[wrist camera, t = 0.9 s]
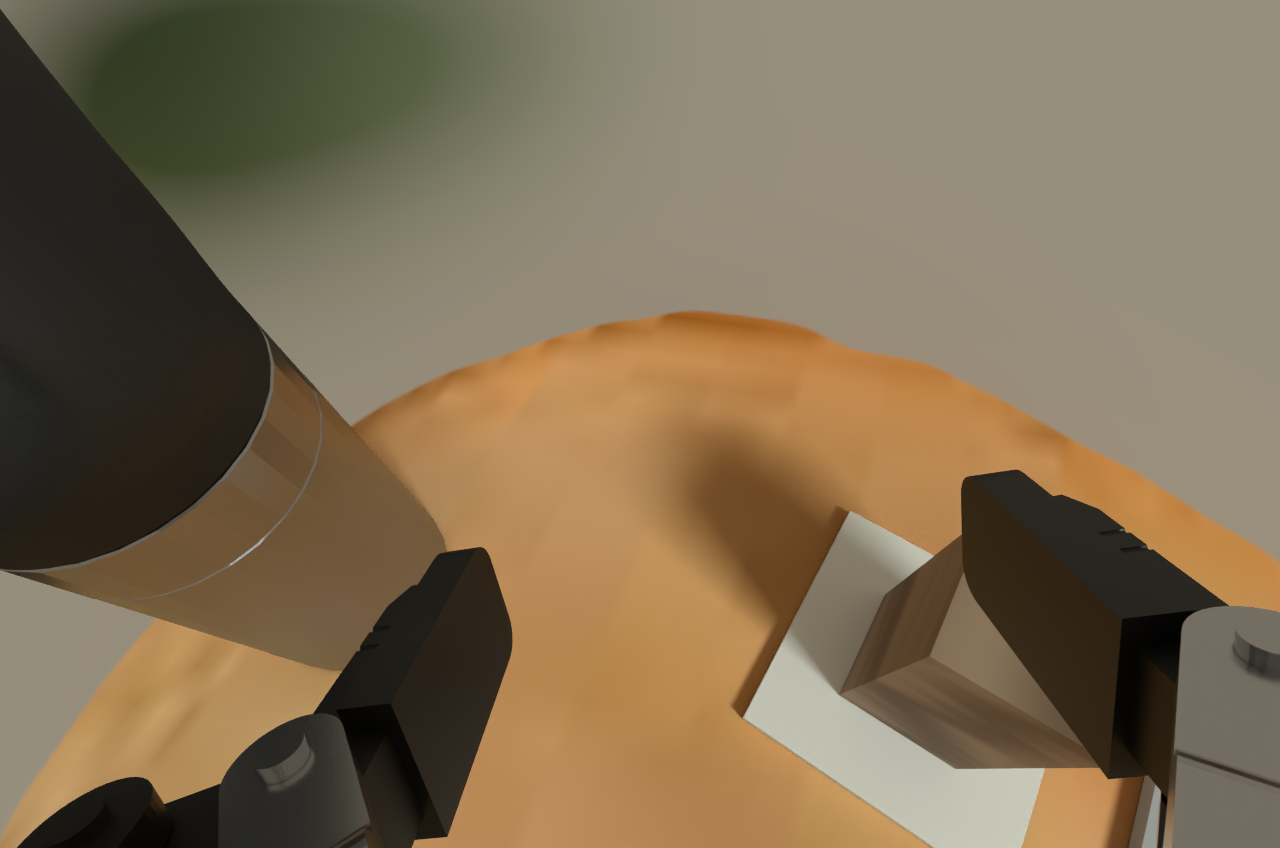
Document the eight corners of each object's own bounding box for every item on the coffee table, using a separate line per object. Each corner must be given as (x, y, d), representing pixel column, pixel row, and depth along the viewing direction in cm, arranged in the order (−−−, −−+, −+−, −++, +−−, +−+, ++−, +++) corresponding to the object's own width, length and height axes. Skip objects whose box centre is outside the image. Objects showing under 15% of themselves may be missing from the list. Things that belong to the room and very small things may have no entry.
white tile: (741, 718, 29) (743, 717, 28) (847, 514, 34) (850, 510, 33) (999, 894, 25) (1007, 896, 25) (1076, 638, 30) (1084, 636, 30)
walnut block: (838, 694, 29) (929, 656, 19) (884, 594, 31) (986, 514, 21) (955, 769, 27) (1118, 767, 18) (994, 657, 29) (1158, 602, 20)
